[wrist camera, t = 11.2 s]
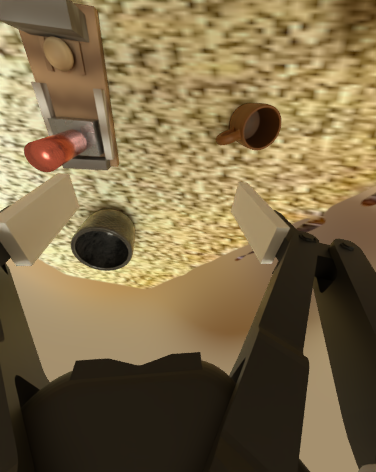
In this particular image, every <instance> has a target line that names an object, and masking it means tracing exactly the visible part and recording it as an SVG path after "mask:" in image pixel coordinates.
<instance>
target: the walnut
mask: <svg viewBox="0 0 376 472" xmlns="http://www.w3.org/2000/svg"><path fill="white" fill-rule="evenodd" d="M43 49H44V53H45V56H46V58H47V60H48V61H49V62H50V64H51V65H52V66H53V67H55V68H56V69H58V70H60V71H64V72H66V71H69V70H71V69H72V67H73V64H74V58H73V54H72V52H71V50H70V48H69V47H68V45H67V44H66V43H65V42H64V41H63V40H61V39H60V38H58V37H54V36H50V37H48V38H46V39H45V41H44V44H43Z"/></svg>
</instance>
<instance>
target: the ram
mask: <svg viewBox="0 0 376 472" xmlns="http://www.w3.org/2000/svg"><path fill="white" fill-rule="evenodd" d="M48 121H49V125H50V128H51V131H52V134H53V135H52V136H49V137H45V138H42V139H39V140H36V141H33V142H30V143H28V144H27V145H26V146H25V148H24V153H25V157H26V159H27V160H28V162H29V163H30V164H31V165H32V166H33V167H35V168H36V169H38V170H40V171H43V172H51V171H54V170H55V169H57V168H58V167H60V166H62V165H63V164H65V163H66V162H68V161H69V160H71V159H73V158H74V157H76V156H77V155H84V156H100V155H102V154H103V153H104V146H103V141H102V135H101V130H100V124H99V120H96V119H84V118H72V117H61V116H57V117H51V118H48Z"/></svg>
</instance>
